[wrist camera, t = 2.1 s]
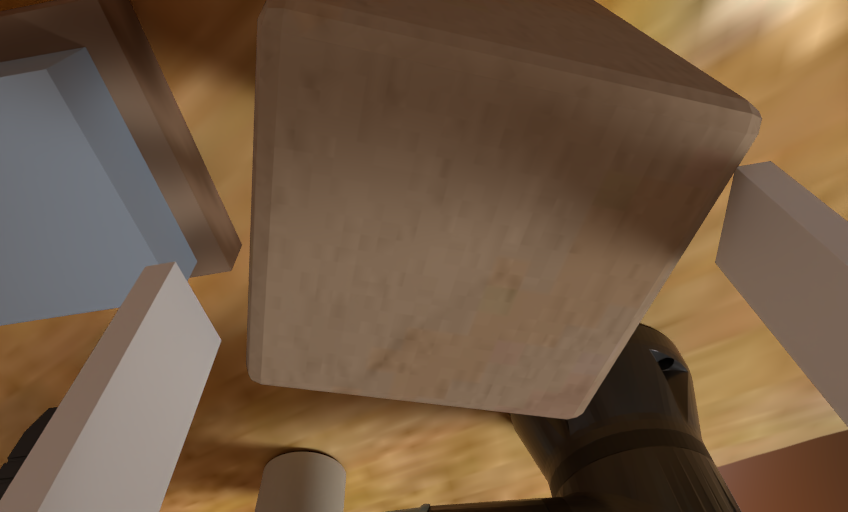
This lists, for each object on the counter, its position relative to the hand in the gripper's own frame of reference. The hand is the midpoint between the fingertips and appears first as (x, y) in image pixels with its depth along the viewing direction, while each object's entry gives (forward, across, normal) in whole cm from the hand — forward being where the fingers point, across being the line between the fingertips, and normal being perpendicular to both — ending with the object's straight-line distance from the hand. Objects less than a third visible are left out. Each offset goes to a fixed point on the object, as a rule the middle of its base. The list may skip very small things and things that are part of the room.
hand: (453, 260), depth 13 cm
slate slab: (+16, +22, +3) cm, 28 cm away
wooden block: (+20, 0, 0) cm, 20 cm away
